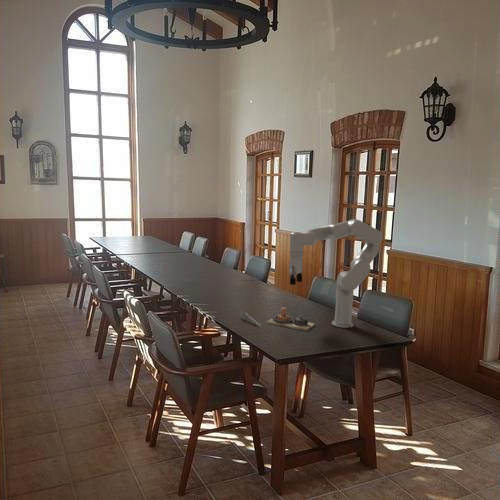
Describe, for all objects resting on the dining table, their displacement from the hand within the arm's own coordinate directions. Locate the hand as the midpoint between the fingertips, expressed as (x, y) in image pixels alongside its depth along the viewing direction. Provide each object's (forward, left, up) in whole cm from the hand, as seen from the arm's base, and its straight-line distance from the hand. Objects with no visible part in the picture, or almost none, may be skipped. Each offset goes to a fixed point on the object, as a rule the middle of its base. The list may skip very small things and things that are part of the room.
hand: (296, 283), depth 284 cm
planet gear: (+4, -5, -22) cm, 23 cm away
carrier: (+4, 0, -24) cm, 24 cm away
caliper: (+16, -19, -24) cm, 35 cm away
